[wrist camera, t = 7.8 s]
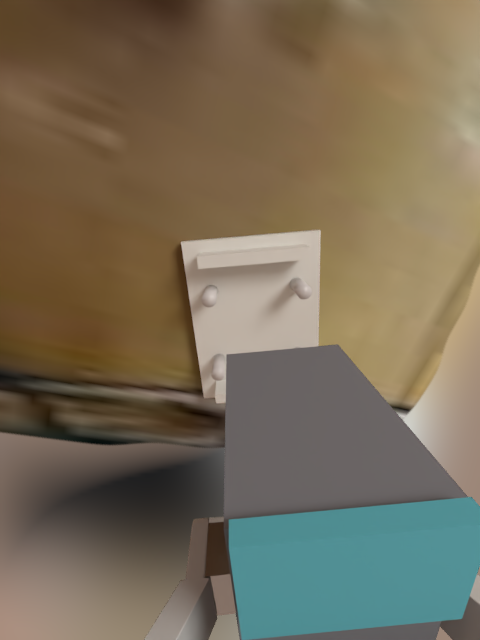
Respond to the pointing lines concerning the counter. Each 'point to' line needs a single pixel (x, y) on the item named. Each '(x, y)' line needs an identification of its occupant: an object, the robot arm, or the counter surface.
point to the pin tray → (251, 297)
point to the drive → (336, 507)
